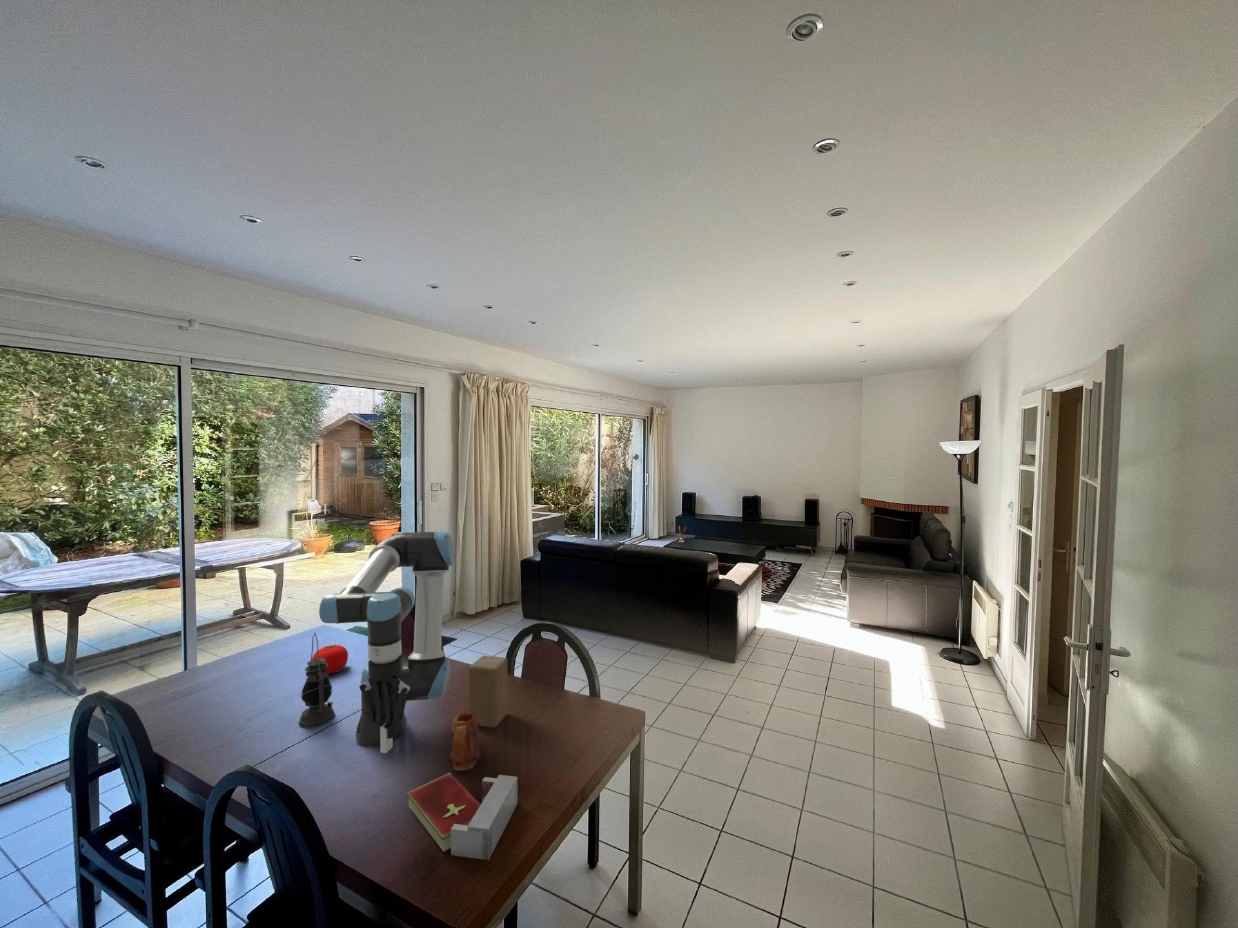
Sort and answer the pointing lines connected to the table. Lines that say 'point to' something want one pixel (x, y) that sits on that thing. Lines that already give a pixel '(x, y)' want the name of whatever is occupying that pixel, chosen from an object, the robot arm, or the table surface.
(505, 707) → the wooden block
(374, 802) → the table surface
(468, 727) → the mug
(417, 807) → the hardcover book
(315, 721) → the lantern
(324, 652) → the tomato
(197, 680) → the table surface
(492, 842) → the end cap
